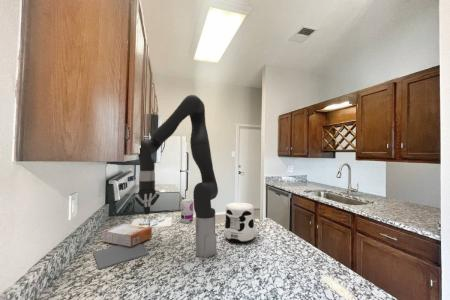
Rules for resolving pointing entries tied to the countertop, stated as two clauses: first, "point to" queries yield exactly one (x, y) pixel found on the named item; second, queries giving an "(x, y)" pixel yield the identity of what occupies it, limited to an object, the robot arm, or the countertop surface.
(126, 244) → the cracker box
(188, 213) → the supplement can
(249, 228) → the milk container
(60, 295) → the countertop surface
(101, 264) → the mat
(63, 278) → the countertop surface
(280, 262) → the countertop surface
